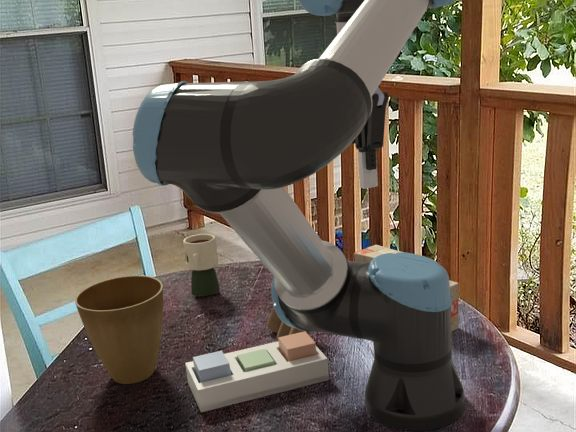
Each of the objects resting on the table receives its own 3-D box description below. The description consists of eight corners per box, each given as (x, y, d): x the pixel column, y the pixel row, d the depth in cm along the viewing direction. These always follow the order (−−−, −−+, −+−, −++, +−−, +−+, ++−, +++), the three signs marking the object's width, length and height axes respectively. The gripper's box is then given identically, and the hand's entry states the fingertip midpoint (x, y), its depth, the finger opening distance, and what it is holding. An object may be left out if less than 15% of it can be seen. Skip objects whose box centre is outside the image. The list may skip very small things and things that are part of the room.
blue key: (231, 382, 120) (229, 363, 119) (201, 389, 119) (199, 370, 118) (224, 369, 125) (221, 350, 124) (195, 376, 124) (192, 357, 123)
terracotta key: (317, 361, 125) (315, 342, 124) (289, 368, 123) (287, 349, 122) (306, 349, 129) (305, 331, 128) (279, 355, 128) (278, 337, 127)
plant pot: (109, 354, 140) (96, 275, 135) (184, 354, 137) (173, 274, 132) (75, 396, 125) (59, 309, 121) (158, 397, 123) (145, 309, 118)
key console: (329, 379, 124) (327, 358, 122) (201, 412, 117) (198, 390, 116) (308, 354, 133) (306, 334, 132) (188, 383, 126) (185, 362, 125)
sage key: (275, 379, 123) (274, 361, 122) (247, 387, 122) (245, 368, 121) (266, 366, 128) (265, 348, 127) (239, 373, 126) (237, 355, 125)
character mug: (195, 284, 170) (189, 231, 166) (226, 283, 169) (220, 230, 165) (184, 304, 160) (177, 247, 156) (216, 303, 159) (209, 246, 155)
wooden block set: (306, 369, 133) (325, 321, 129) (260, 354, 132) (278, 305, 129) (309, 322, 150) (326, 278, 146) (269, 308, 149) (285, 265, 146)
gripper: (401, 46, 116) (406, 191, 123) (364, 43, 127) (371, 175, 134) (358, 51, 113) (366, 198, 120) (324, 48, 125) (333, 182, 132)
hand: (368, 186), depth 127 cm, fingers closed
